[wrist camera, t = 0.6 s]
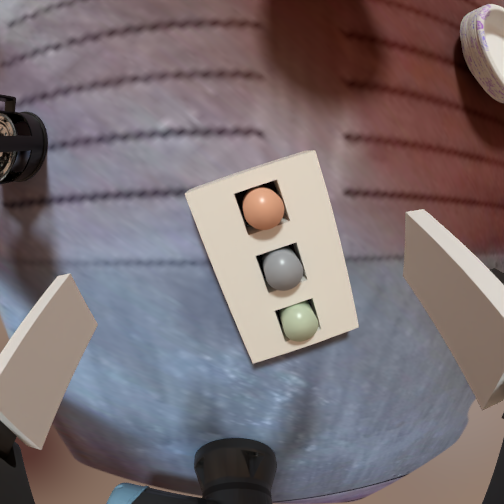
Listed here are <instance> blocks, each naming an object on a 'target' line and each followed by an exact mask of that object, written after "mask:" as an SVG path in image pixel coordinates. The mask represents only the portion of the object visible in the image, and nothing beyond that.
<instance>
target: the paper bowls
mask: <svg viewBox="0 0 504 504" xmlns="http://www.w3.org/2000/svg"><path fill="white" fill-rule="evenodd" d="M460 37H461V44H462V51H463V55H464V58H465V61H466V64H467V66H468V68H469V70H470V71H471V73H472V74H473V76H474V77H475V78H476V80H477V81H478V83H479V84H480V85H481V86H482V88H483V89H484V90H485V91H486V92H487V93H488V94H489V95H490V96H491V97H492V98H493V99H495V100H496V101H498V102H500V103H503V104H504V8H503V7H500V6H498V5H494V4H487V5H485V6H482V7H480V8H478V9H476V10H473V11H472V12H470V13H468V14H466V16H464V18H463V20H462V22H461V28H460Z"/></svg>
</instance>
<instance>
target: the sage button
mask: <svg viewBox="0 0 504 504" xmlns="http://www.w3.org/2000/svg"><path fill="white" fill-rule="evenodd" d="M279 316H280V319H281V322H282V326H283V329H284V332H285V335H286V336H287V337H288V338H289V339H290V340H292V341H296V342H301V341H305V340H308V339H310V338H311V337H312V336H313V335H314V334H315V333H316V331H317V329H318V320H317V318H316V316H315V314H314V312H313V310H312V308H311V306H310V304H309V302H308V301H307V300H305V301H302V302H300V303H297V304H294V305H291V306H288V307H285V308H282V309H279Z"/></svg>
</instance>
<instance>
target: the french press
mask: <svg viewBox="0 0 504 504" xmlns="http://www.w3.org/2000/svg"><path fill="white" fill-rule="evenodd" d="M0 101H4V102H5V111H0V184H4V183H9V182H13V181H15V182H21V181H25V180H28V179H29V178H31V177H32V176H33V175H35V174H36V172H37V171H38V170H39V169H40V167H41V165H42V163H43V161H44V158H45V155H46V151H47V133H46V129H45V126H44V124H43V122H42V121H41V119H40V118H39V117H38V116H37V115H35V114H33V113H30V112H20V113H18V112H15V105H16V98H15V97H12V96H6V95H0ZM21 121H25V122H27V124H28V126H29V128H30V132H31V136H18V133H17V129H16V127H15V125H14V124H16V123H18V122H21ZM30 150H31V152H30V157H29V160H28V162H27V165H26V166H25V168H24V170H23V171H22V172H14V171H12V170H11V169H12V167H13V165H14V163H15V160H16V157H17V153H18V151H30Z"/></svg>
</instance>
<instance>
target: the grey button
mask: <svg viewBox="0 0 504 504" xmlns="http://www.w3.org/2000/svg"><path fill="white" fill-rule="evenodd" d="M262 266H263V270H264V273H265V277H266V280H267V282H268V284H269V285H270V286H271V287H272V288H274V289H276V290H280V291H286V290H290V289H292V288H294V287H296V286H297V285H298V284H299V283H300V281H301V279H302V277H303V267H302V264H301V263H300V261H299V259H298V258H297V256H296V255H295V253H294V252H293V250H292V249H291V248H290V247H288V246H284V247H281V248H278V249H275V250H272V251H269V252H266V253H264V254H263V257H262Z"/></svg>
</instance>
